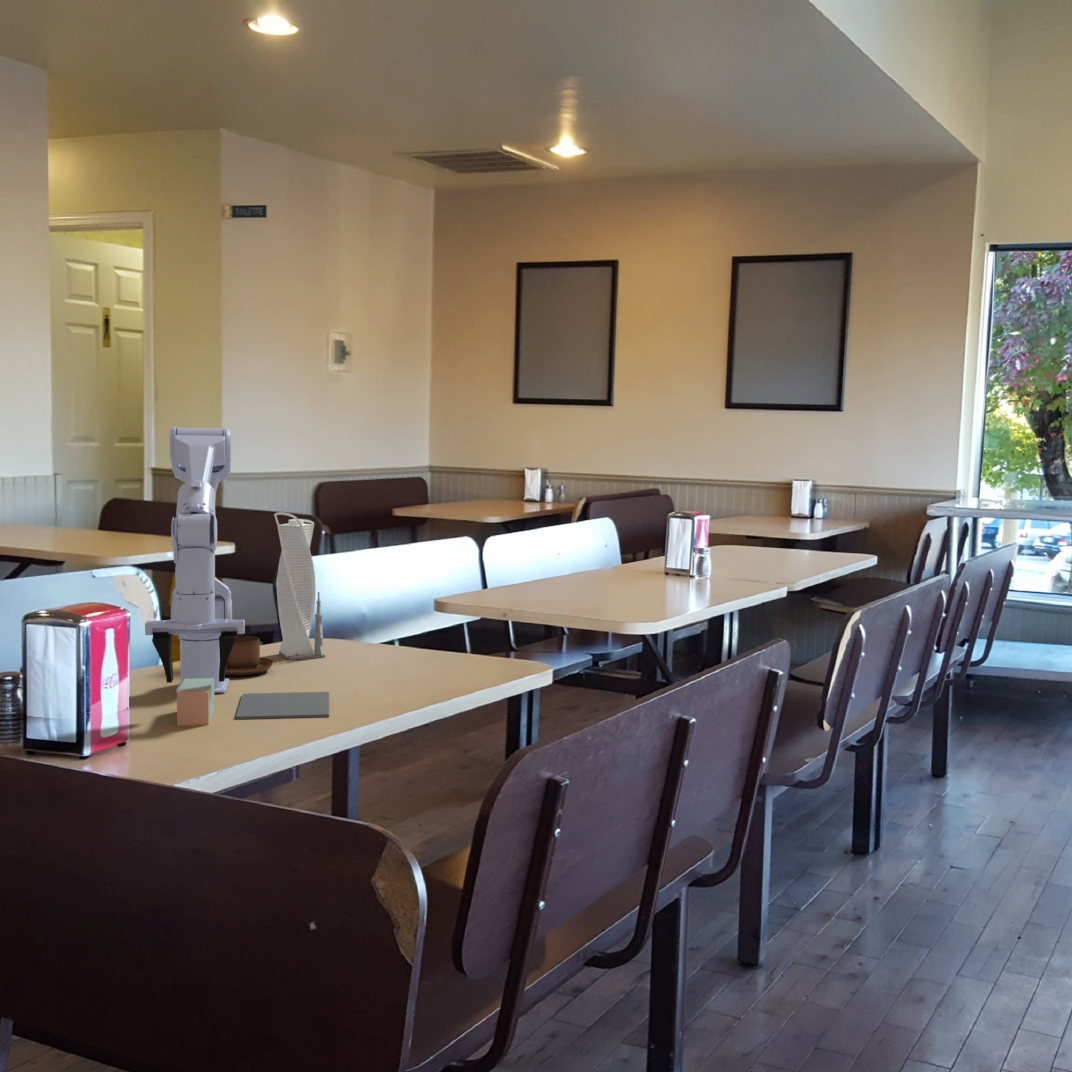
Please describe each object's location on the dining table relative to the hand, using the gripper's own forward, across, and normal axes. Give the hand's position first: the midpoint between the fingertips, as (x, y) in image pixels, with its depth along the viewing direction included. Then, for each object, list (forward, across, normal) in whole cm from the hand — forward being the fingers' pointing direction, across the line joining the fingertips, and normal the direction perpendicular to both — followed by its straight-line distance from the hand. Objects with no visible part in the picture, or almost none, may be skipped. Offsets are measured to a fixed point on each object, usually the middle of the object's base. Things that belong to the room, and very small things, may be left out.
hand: (196, 680), depth 186 cm
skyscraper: (+6, +14, +49) cm, 51 cm away
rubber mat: (+6, +13, +6) cm, 15 cm away
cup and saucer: (+6, +4, +34) cm, 35 cm away
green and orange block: (+6, 0, 0) cm, 6 cm away
